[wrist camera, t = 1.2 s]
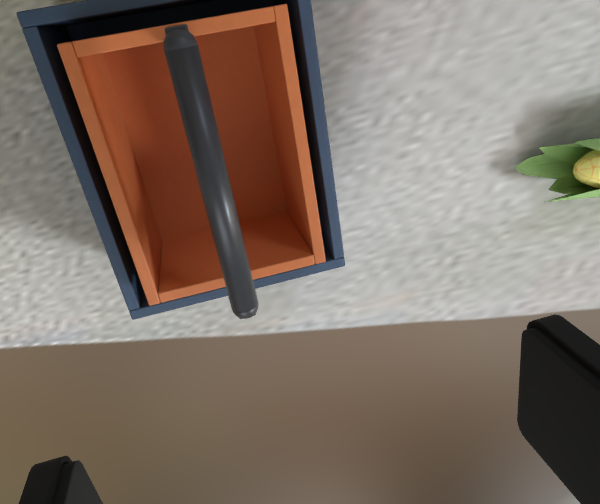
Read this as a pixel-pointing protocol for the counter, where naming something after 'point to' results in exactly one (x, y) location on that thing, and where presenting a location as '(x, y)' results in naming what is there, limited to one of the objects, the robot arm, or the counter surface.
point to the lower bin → (43, 45)
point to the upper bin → (202, 151)
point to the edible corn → (568, 168)
